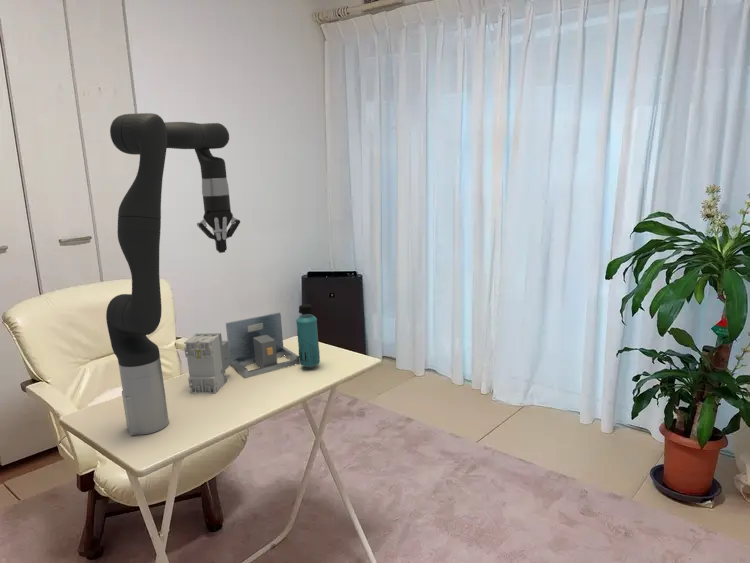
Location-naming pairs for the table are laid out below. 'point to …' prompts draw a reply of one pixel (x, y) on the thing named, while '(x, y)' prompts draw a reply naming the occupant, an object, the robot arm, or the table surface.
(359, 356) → the table surface
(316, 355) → the beverage bottle
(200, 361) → the circuit breaker
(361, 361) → the table surface
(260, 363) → the block
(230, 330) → the grey frame with backplate
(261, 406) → the table surface
